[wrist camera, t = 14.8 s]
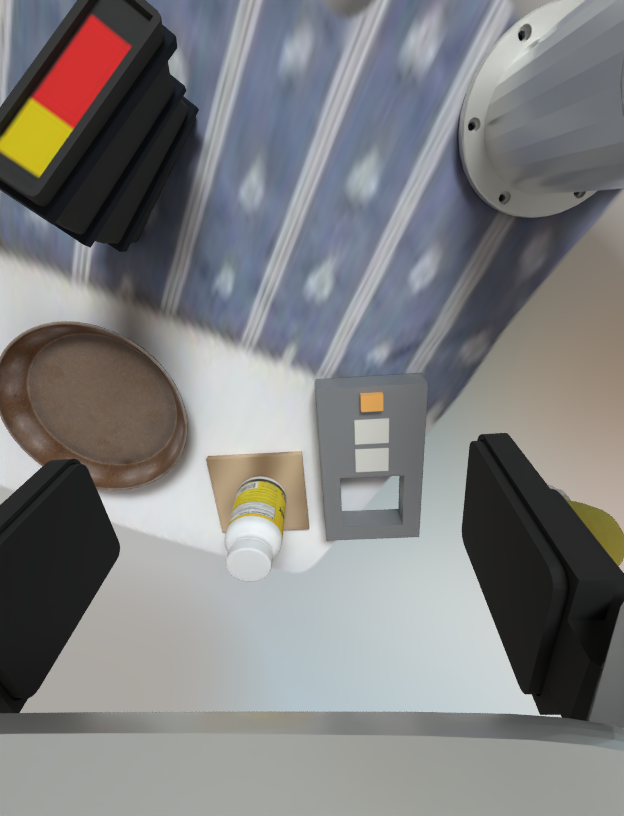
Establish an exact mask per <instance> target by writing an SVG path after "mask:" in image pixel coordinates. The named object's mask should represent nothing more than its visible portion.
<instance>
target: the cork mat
mask: <svg viewBox="0 0 624 816" xmlns="http://www.w3.org/2000/svg"><path fill="white" fill-rule="evenodd" d="M206 461H207V465H208V470H209V474H210V479H211V483H212V488H213V492H214V497H215V501H216V506H217V510H218V515H219V519H220V524H221V528H222V532H226V530H227V527H228V523H229V520H230V516H231V512H232V509H233V505H234V502H235V498H236V495H237V491H238V489H239V487H240V485H241V484H242V483H243V482H244V481H246V480H248V479H250V478H252V477H258V476H262V477H268V478H271V479H273V480H275V481H277V482H278V483H279V484H281V486H282V487H283V488H284V490H285V493H286V509H285V519H284V528H283V530H293V529H309V519H308V509H307V499H306V488H305V478H304V468H303V458H302V452H283V453H263V454H243V455H223V456H208V457H207V459H206Z"/></svg>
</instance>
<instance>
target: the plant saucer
mask: <svg viewBox="0 0 624 816" xmlns="http://www.w3.org/2000/svg"><path fill="white" fill-rule="evenodd" d="M0 416H1V419H2V421H3V423H4V425H5V426H6V428H7V430H8V431H9V433H10V434H11V436H12V437H13V439H14V440H15V441H16V442H17V443H18V444H19V445H20V447H21V448H22V449H23V450H24V451H25V452H26V453H27V454H28V455H29V456H30V457H32V458H33V459H34V460H35V461H36V462H38V463H39V464H40V465H42V466H44V465H45V464H46V463H47V462H49V461H51V460H61V459H77V460H79V461H80V462H81V464H84V465H85V466H86V467H87V468H88V470H89V472H90V475H91V477H92V479H93V482H94V484H95V487H96V489H105V490H126V489H132V488H137V487H141V486H144V485H147V484H149V483H152V482H154V481H156V480H158V479H159V478H161V477H162V476H163V475H165V474H166V473H167V472H168V471H169V470H170V469H171V468H172V467H173V466H174V465H175V464H176V462H177V461H178V459H179V457H180V456H181V454H182V452H183V449H184V446H185V442H186V437H187V416H186V411H185V407H184V404H183V401H182V398H181V396H180V393H179V391H178V389H177V387H176V385H175V383H174V382H173V380H172V379H171V377H170V376H169V374H168V373H167V372H166V370H165V369H164V368H163V367H162V365H161V364H160V363H159V362H158V361H157V360H156V359H155V358H154V357H153V356H152V355H150V354H149V353H148V352H147V351H146V350H144V349H143V348H142V347H140V346H139V345H137V344H136V343H134V342H133V341H131V340H129V339H128V338H126V337H124V336H122V335H120V334H118V333H115V332H113V331H110V330H108V329H105V328H102V327H99V326H95V325H91V324H87V323H80V322H66V321H65V322H52V323H47V324H43V325H39V326H36V327H34V328H31V329H29V330H27V331H25V332H23V333H22V334H20V335H19V336H18V337H16V338H15V339H14V340H13V341H11V343H10V344H9V345H8V346H7V347H6V348H5V349H4V351H3V353H2V354H1V356H0Z"/></svg>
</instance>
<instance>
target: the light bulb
mask: <svg viewBox="0 0 624 816" xmlns="http://www.w3.org/2000/svg"><path fill="white" fill-rule="evenodd" d="M548 486H549V488H550V489H551V488H552V489H555V488H554V487H553V486H550V485H548ZM555 490H557V491H558V492H559V493H560V494H561V495H562V496H563V497H564V498H565V500H566V501H567V502H568V503H569V505H570V506H571V507H572V509H573V510H574V511H575V512H576V514H577V515H578V516H579V517H580V519H581V520H582V521H583V522H584V524H585V525H586V526H587V528H588V529H589V530H590V531H591V533H592V534H593V535H594V536H595V538H596V539H597V540H598V541H599V543H600V544H601V545H602V546H603V548H604V549H605V550H606V552H607V553H608V554H609V555H610V557H611V558H612V559H613V560H614V562H615V563H616V564H617V565H618V566H619V565H620V564H621V562H622V561H623V558H624V534H623V532H622V530H621V528H620V527H619V525H618V523H617V522H616V521H615V519H613V517H611V516H610V515H609V514H607V513H606V512H604V511H603V510H600V509H598V508H595V507H591V506H589V505H586V504H583V503H578V502H573V501H571V500H570V498H569V497H568V496H567V495H566V494H565V493H564V492H563V491H562V490H559V489H555Z"/></svg>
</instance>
